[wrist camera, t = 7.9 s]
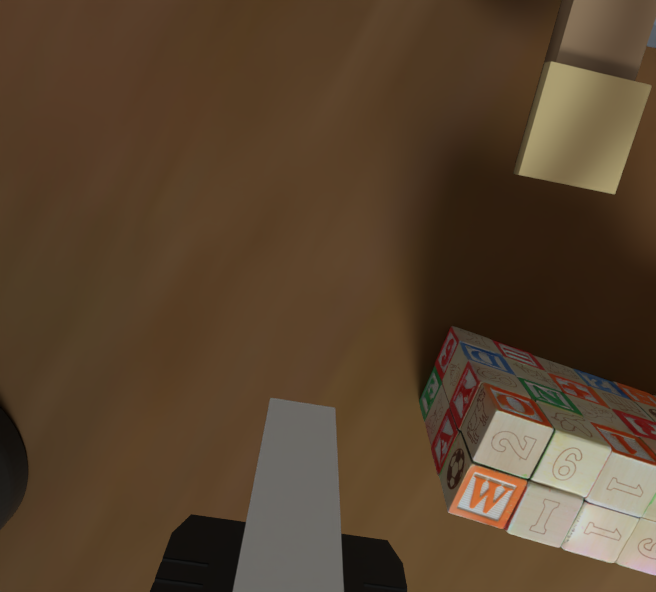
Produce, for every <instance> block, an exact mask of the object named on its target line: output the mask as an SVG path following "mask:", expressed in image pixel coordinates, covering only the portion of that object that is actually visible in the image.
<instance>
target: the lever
mask: <svg viewBox="0 0 656 592" xmlns="http://www.w3.org/2000/svg"><path fill="white" fill-rule="evenodd" d="M655 19H656V0H562V1H561V5H560V8H559V12H558V15H557V19H556V22H555V26H554V29H553V33H552V36H551V40H550V43H549V47H548V50H547V54H546V57H545V61H544V64H543V68H542V72H541V75H540V79H539V82H538V86H537V89H536V93H535V96H534V100H533V103H532V107H531V110H530V114H529V117H528V121H527V124H526V128H525V131H524V135H523V138H522V142H521V145H520V149H519V152H518V156H517V159H516V165H515V169H514V172H513V174H517V175H522V176H527V177H532V178H537V179H542V180H547V181H552V182H556V183H561V184H566V185H571V186H576V187H581V188H586V189H591V190H596V191H601V192H606V193H610V194H615V192H616V190H617V187H618V184H619V181H620V178H621V175H622V172H623V169H624V166H625V163H626V160H627V157H628V154H629V151H630V148H631V145H632V142H633V140H634V137H635V134H636V131H637V128H638V125H639V122H640V119H641V116H642V113H643V110H644V107H645V104H646V101H647V98H648V95H649V92H650V89H651V87H652V85H648V84H644V83H640V82H636V81H635V79H636V76H637V73H638V70H639V67H640V64H641V61H642V58H643V55H644V52H645V49H646V46H647V43H648V40H649V37H650V34H651V31H652V28H653V25H654V22H655Z"/></svg>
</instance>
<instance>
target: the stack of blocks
mask: <svg viewBox="0 0 656 592" xmlns="http://www.w3.org/2000/svg"><path fill="white" fill-rule="evenodd" d="M419 403H420V408H421V412H422V416H423V419H424V422H425V424H426V428H427V433H428V437H429V440H430V444H431V451H432V455H433V459H434V463H435V466H436V470H437V475H438V476H439V478H440V481H441V485H442V489H443V493H444V497H445V501H446V505H447V509H448V512H449V513H452V514H455V515H458V516H461V517H465V518H468V519H471V520H475V521H478V522H481V523H484V524H487V525H491V526H494V527H497V528H500V529H502V528H504V529H505V530H506V532H508V533H509V534H512V535H516V536H519V537H522V538H526V539H530V540H533V541H536V542H540V543H543V544H547V545H551V546H554V547H561V548H562V549H564V550H566V551H570V552H572V553H576V554H580V555H584V556H587V557H591V558H594V559H598V560H601V561H604V562H608V563H614V562H615V563H617V564H618V565H621V566H624V567H628V568H631V569H635V570H638V571H642V572H645V573H648V574H652V575H656V396H655V395H651V394H649V393H647V392H644V391H641V390H638V389H635V388H632V387H630V386H627V385H624V384H621V383H618V382H615V381H613V382H611V381H609V380H606V379H603V378H600V377H597V376H594V375H591V374H588V373H585V372H582V371H579V370H577V369H571V368H569V367H567V366H564V365H561V364H558V363H555V362H552V361H549V360H546V359H543V358H540V357H537V356H534V355H532V354H531V353H529V352H526V351H523V350H520V349H517V348H514V347H511V346H508V345H506V344H503V343H500V342H497V341H494V340H491V339H489V338H486V337H483V336H481V335H478V334H475V333H472V332H469V331H466V330H463V329H460V328H457V327H454V326H451V327H450V329H449V332H448V334H447V336H446V339H445V341H444V343H443V346H442V348H441V350H440V353H439V355H438V357H437V360H436V362H435V366H434V368H433V371H432V373H431V375H430V378H429V380H428V382H427V384H426V387H425V389H424V391H423V394H422V396H421V398H420V400H419Z"/></svg>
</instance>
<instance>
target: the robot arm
mask: <svg viewBox="0 0 656 592" xmlns="http://www.w3.org/2000/svg"><path fill="white" fill-rule="evenodd" d="M27 480H28V465H27V458H26V453H25V449H24V446H23V443H22V441H21V439H20V436H19V434H18V432H17V430H16V428H15V427H14V425H13V423H12V422H11V421H10V419H9V418H8V416H7V415H6V414H5V413H4V411H3V410H2V409H1V408H0V530H1V528H2V527H3V526H4V525H5V524H6V523H7V521H8V520H9V519H10V518H11V517H12V516H13V514H14V513H15V512H16V510H17V509H18V507H19V506H20V504H21V502H22V499H23V497H24V494H25V491H26V486H27ZM150 592H407V584H406V579H405V574H404V568H403V563H402V562H401V560H400V559H399V557H398V556H397V554H396V553H395V551H394V550H393V548H392V547H391V545H390V544H389V542H388V541H387V540H381V539H374V538H367V537H360V536H353V535H346V534H341V521H340V500H339V479H338V458H337V437H336V416H335V408H333V407H326V406H320V405H313V404H307V403H301V402H294V401H288V400H281V399H275V398H270V403H269V408H268V413H267V418H266V423H265V428H264V433H263V438H262V444H261V449H260V454H259V459H258V464H257V469H256V474H255V480H254V485H253V490H252V495H251V500H250V505H249V510H248V515H247V521H246V522H241V521H234V520H227V519H220V518H213V517H206V516H199V515H192V514H191V515H190V516H189V517H188V518H187V519H186V520H185V521H184V522H183V523H182V524H181V525H180V526H179V527H178V528H177V529H176V530H175V531H173V532H172V534H171V537H170V540H169V542H168V545H167V548H166V550H165V553H164V556H163V560H162V562H161V564H160V566H159V569H158V572H157V574H156V577H155V581H154V583H153V585H152V588H151V590H150Z"/></svg>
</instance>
